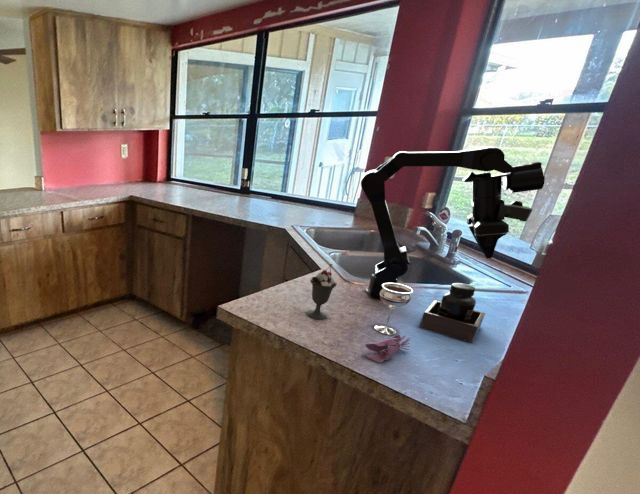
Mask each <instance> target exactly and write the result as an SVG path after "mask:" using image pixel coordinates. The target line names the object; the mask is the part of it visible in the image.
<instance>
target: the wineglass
mask: <svg viewBox="0 0 640 494" xmlns="http://www.w3.org/2000/svg"><path fill="white" fill-rule="evenodd" d="M382 286H383V289H382V290H381V291H380V299H379V300H381V302H382V303H383V305H385V306H387V307H388V309H389V310H388V313H387V318H386V323H385V325H384V324H383V325H382V324H379V325H378V324H377V325H375V326H374V329H375V330H376V331H377V332H379V333H381V334H384V335H397V330H396V329H394V328H393V327H391V326H388V325H389V323H390V319H391V317H392V315H393V311H394V310H395V309H398V308H403V307H405V306H407V305H408V304H409V303H410V302H411V300H412V294H413V292H414V290H413V288H411V287H410V286H408V285H406V284H405V285H404V284H402V283H397V284H396V283H385V284H383V285H382Z"/></svg>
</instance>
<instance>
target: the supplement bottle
mask: <svg viewBox="0 0 640 494" xmlns="http://www.w3.org/2000/svg"><path fill="white" fill-rule="evenodd" d="M475 291H476V287H475V286H473V285H470V284H467V283H462V282H454V283H451V285H450V288H449V291H448V292H445V293H444V294H443V296H442V298H441V301H440V302H441V304H440V307H439V310H438V313H437V315H440V316H443V317H447V318H451V319H454V320H458V321H462V322H465V323H469V321H470V319H471V316H472V313H473V310H475V306H476V304H477V301H476V299H475V297H473V296H475Z"/></svg>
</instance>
